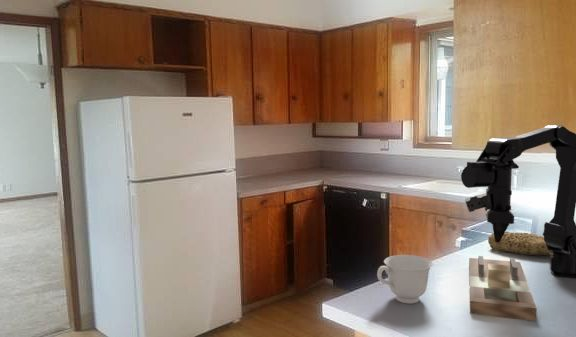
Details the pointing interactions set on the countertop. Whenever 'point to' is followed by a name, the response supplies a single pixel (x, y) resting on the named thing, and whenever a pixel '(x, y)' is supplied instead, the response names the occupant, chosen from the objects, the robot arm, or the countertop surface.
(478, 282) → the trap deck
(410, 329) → the countertop surface
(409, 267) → the teacup
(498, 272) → the maple block
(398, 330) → the countertop surface
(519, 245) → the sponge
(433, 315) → the countertop surface
